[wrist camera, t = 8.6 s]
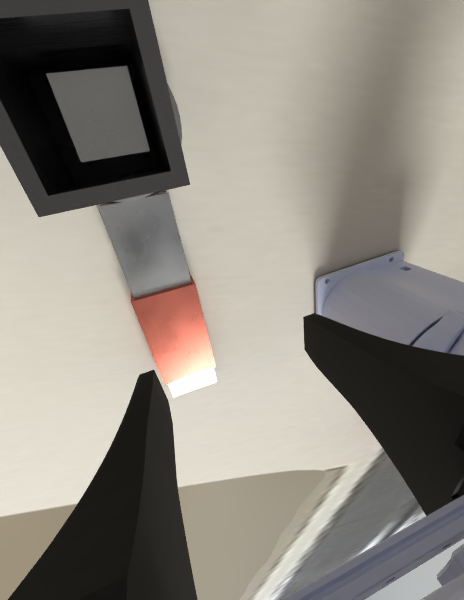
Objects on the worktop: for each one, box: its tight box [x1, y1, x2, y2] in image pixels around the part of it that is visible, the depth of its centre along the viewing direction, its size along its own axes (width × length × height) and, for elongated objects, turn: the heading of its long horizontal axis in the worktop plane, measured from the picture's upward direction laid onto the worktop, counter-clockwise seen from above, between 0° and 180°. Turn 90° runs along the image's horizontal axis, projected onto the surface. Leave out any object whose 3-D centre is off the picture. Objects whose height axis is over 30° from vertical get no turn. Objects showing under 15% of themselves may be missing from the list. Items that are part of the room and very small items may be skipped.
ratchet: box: [28, 64, 217, 397], centre depth 16 cm, size 7×23×5 cm, turn 9°
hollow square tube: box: [0, 0, 190, 217], centre depth 10 cm, size 6×6×5 cm
